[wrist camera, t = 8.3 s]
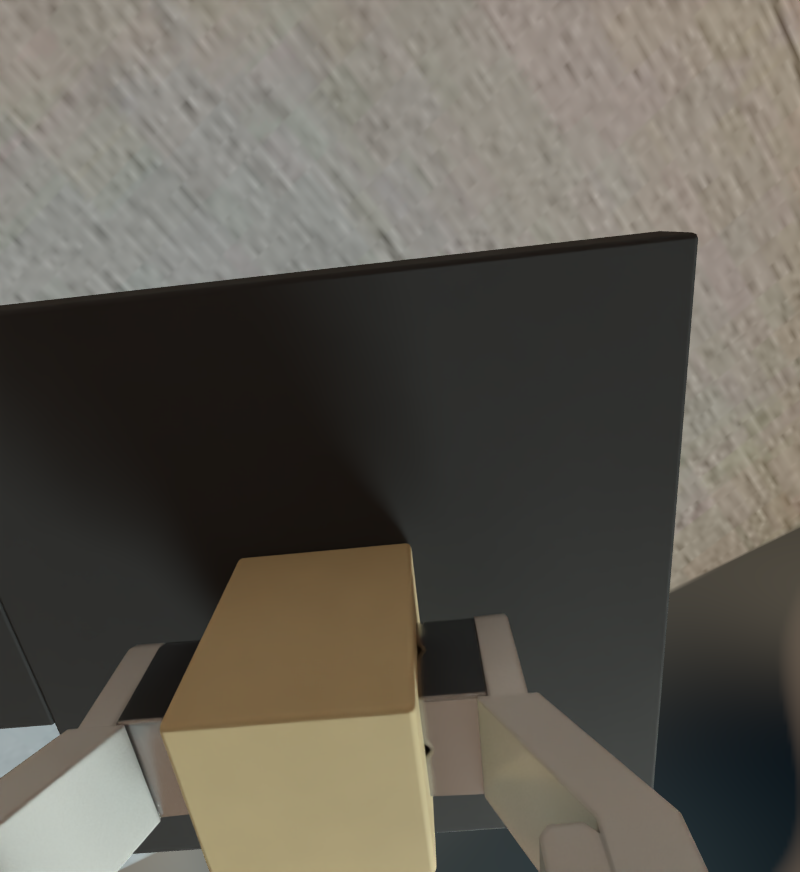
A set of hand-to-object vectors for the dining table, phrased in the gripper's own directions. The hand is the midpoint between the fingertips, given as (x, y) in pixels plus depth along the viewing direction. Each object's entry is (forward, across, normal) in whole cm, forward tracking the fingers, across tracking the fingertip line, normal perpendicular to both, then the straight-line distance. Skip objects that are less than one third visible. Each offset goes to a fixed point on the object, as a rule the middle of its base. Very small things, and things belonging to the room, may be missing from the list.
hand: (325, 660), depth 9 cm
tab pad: (+2, +1, 0) cm, 3 cm away
